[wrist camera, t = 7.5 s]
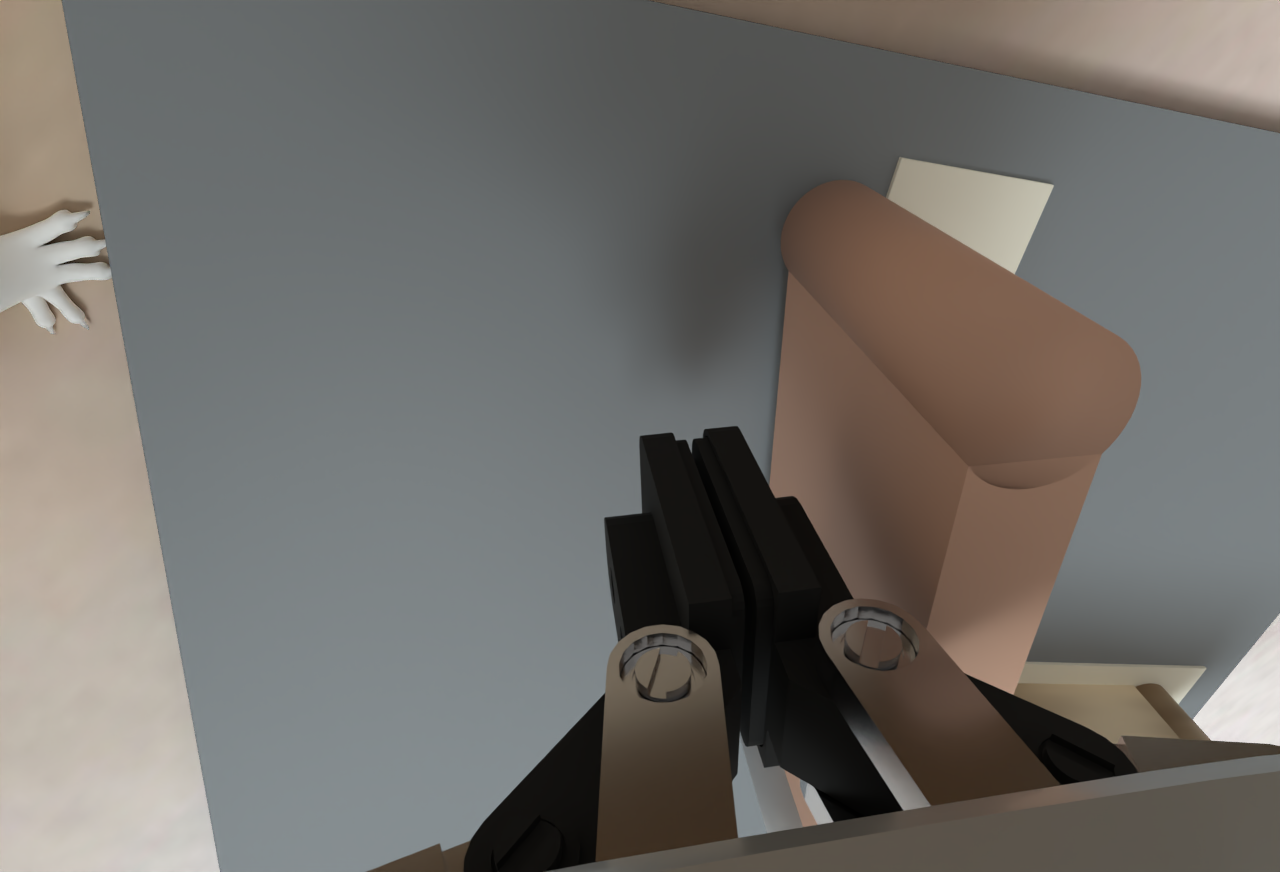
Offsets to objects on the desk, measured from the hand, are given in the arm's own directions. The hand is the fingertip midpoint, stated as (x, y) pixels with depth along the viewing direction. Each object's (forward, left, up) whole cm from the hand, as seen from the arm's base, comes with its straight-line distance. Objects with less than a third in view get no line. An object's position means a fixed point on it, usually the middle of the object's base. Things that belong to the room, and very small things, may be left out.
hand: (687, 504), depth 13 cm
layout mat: (+5, -5, -4) cm, 8 cm away
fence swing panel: (+4, -3, -3) cm, 5 cm away
